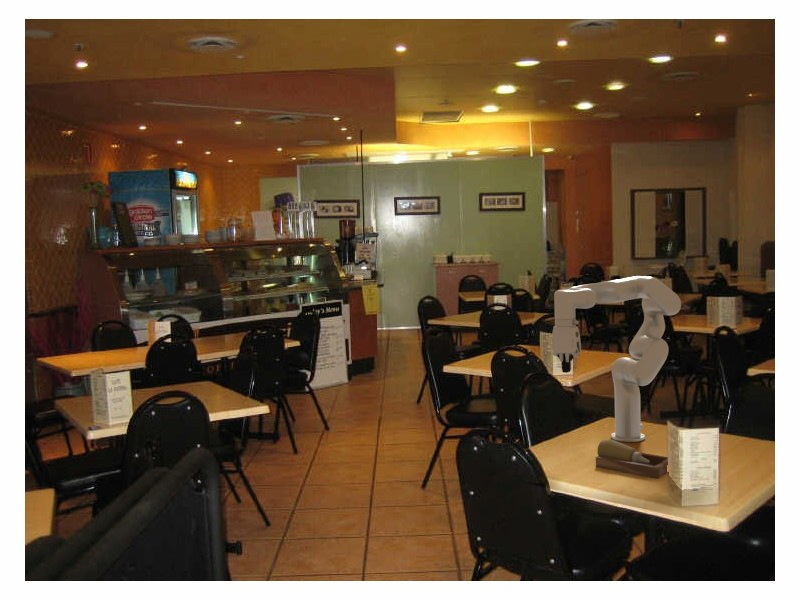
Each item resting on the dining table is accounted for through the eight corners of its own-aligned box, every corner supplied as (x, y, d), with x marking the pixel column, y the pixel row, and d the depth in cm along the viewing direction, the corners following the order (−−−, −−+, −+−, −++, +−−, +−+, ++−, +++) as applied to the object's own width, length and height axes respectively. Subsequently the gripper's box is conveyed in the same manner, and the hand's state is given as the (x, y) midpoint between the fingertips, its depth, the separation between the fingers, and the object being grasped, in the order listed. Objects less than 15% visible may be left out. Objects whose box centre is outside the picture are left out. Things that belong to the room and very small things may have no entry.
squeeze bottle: (598, 464, 264) (646, 479, 251) (593, 448, 260) (641, 463, 247) (609, 447, 268) (656, 461, 255) (604, 432, 264) (652, 445, 251)
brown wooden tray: (613, 457, 269) (613, 448, 268) (674, 468, 254) (674, 458, 254) (595, 466, 259) (595, 456, 259) (657, 478, 244) (657, 468, 244)
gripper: (588, 322, 276) (589, 372, 278) (552, 321, 286) (554, 368, 288) (578, 325, 271) (579, 375, 272) (542, 323, 281) (543, 371, 282)
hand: (566, 371), depth 280 cm, fingers closed
